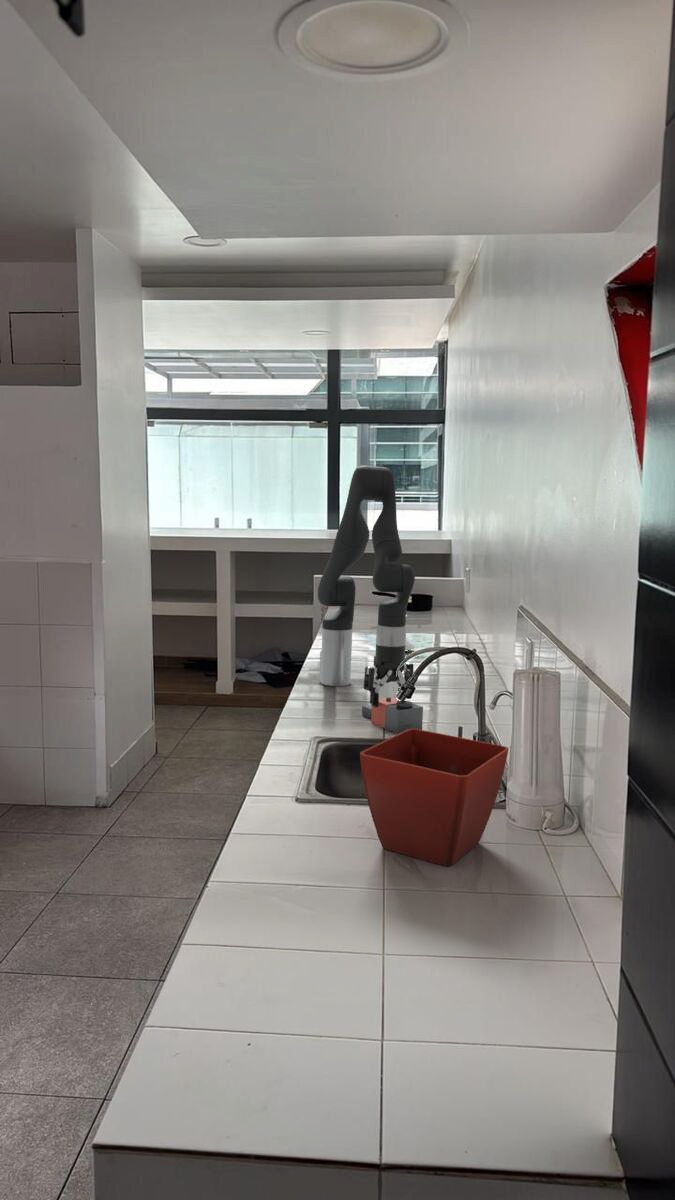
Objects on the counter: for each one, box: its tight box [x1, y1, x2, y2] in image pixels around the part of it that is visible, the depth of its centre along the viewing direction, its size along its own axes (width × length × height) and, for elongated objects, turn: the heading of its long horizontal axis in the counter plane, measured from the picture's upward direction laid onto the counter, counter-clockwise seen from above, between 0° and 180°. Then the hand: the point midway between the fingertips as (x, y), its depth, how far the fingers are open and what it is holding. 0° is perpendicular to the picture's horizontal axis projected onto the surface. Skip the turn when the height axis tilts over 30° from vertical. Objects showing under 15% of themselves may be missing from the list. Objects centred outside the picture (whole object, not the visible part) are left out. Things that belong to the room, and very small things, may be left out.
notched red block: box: [371, 697, 399, 729], centre depth 224 cm, size 6×6×7 cm
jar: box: [372, 655, 403, 699], centre depth 252 cm, size 9×8×12 cm
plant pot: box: [359, 729, 509, 867], centre depth 146 cm, size 19×19×17 cm
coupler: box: [361, 700, 424, 735], centre depth 224 cm, size 19×8×7 cm, turn 34°
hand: (387, 704), depth 224 cm, fingers open, 8 cm apart
